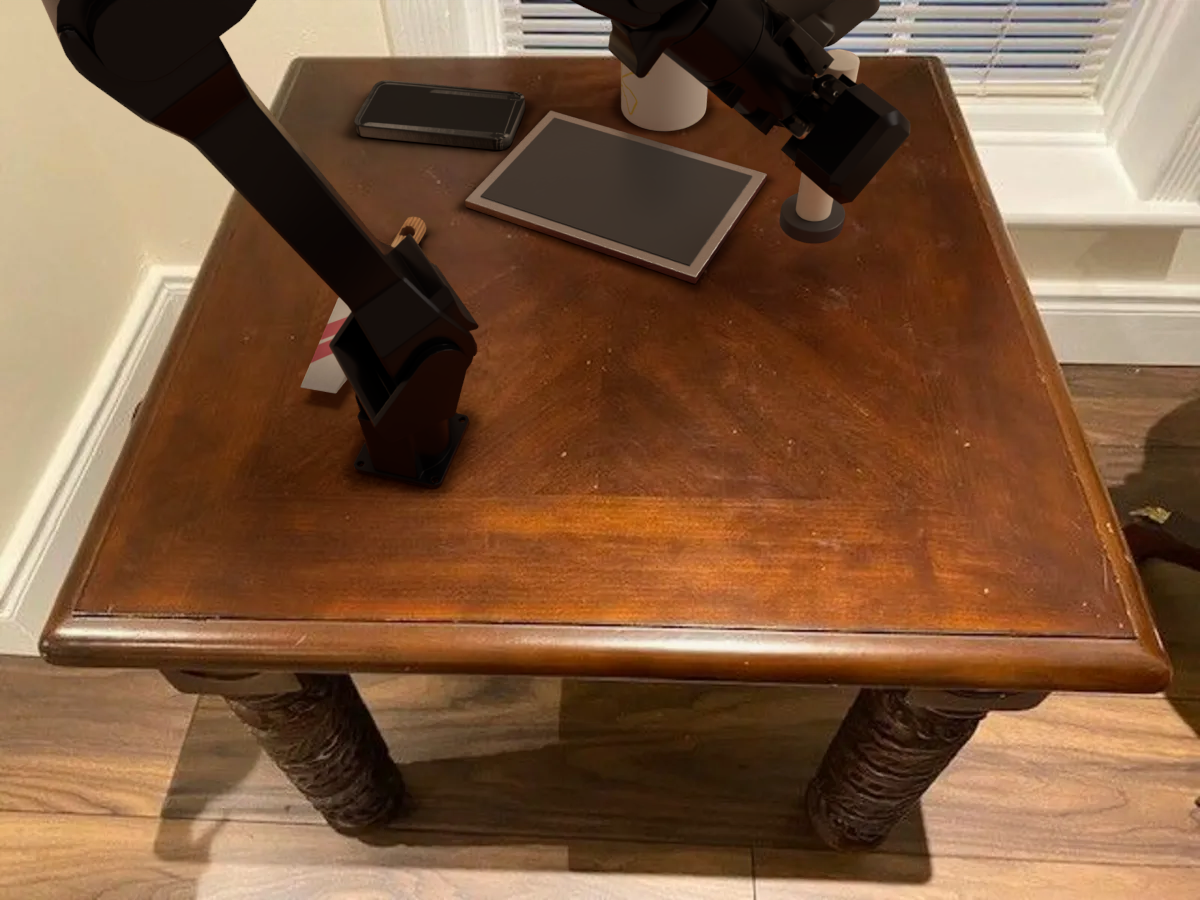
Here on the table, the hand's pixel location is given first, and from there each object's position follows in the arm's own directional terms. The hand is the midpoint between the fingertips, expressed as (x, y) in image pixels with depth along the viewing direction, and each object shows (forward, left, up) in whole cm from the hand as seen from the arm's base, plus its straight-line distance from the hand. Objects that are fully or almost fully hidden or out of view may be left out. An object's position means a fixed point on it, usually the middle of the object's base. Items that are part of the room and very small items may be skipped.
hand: (840, 138), depth 74 cm
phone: (+13, +37, -13) cm, 42 cm away
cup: (+20, +17, -13) cm, 30 cm away
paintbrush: (-13, +33, -13) cm, 38 cm away
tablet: (+6, +18, -13) cm, 23 cm away
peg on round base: (-1, +1, -7) cm, 7 cm away
